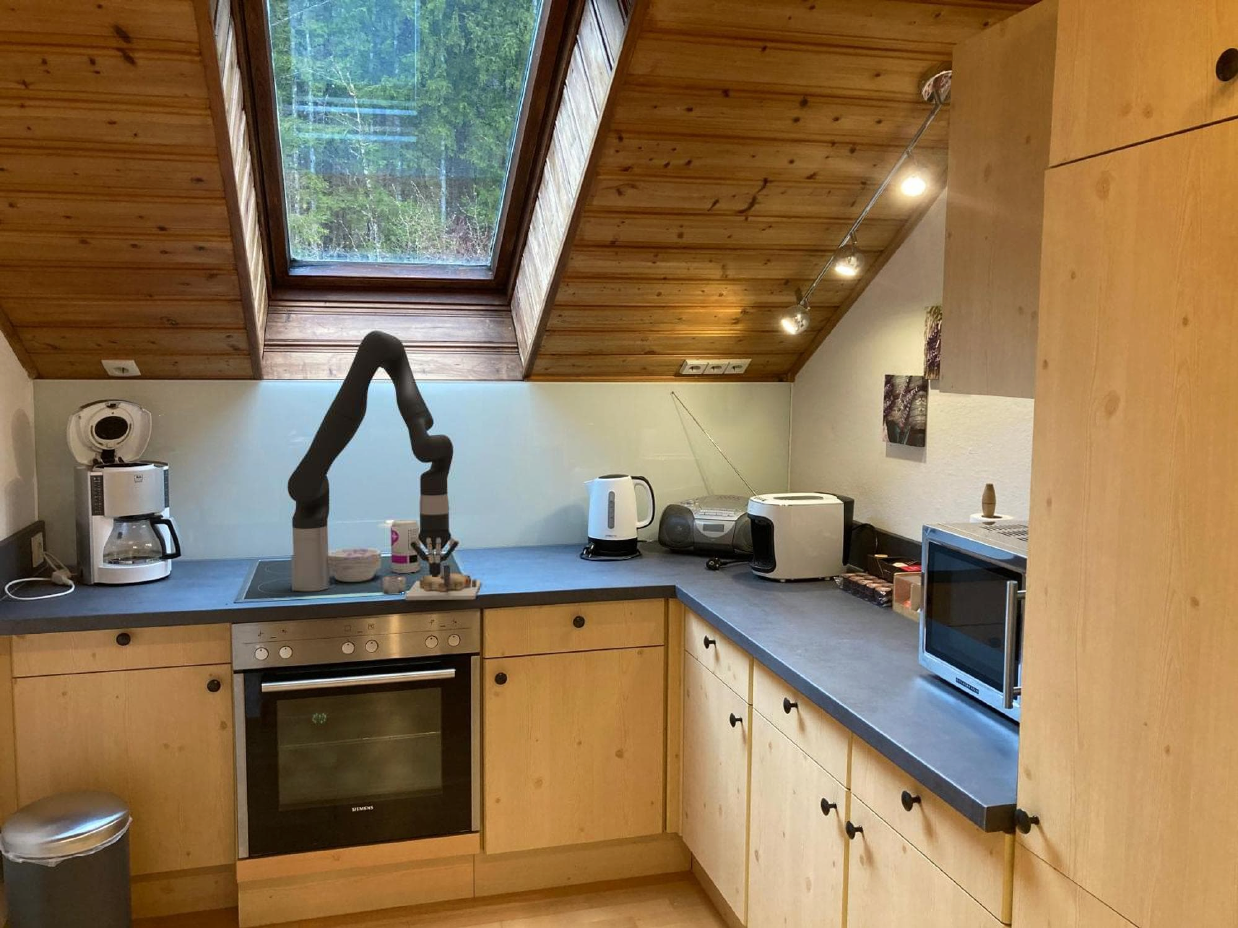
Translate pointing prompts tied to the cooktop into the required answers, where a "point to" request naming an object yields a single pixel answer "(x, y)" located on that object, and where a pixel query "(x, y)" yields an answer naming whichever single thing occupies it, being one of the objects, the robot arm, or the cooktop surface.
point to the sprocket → (445, 581)
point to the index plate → (443, 592)
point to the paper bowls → (354, 564)
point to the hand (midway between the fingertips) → (435, 576)
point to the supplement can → (404, 546)
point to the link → (394, 585)
